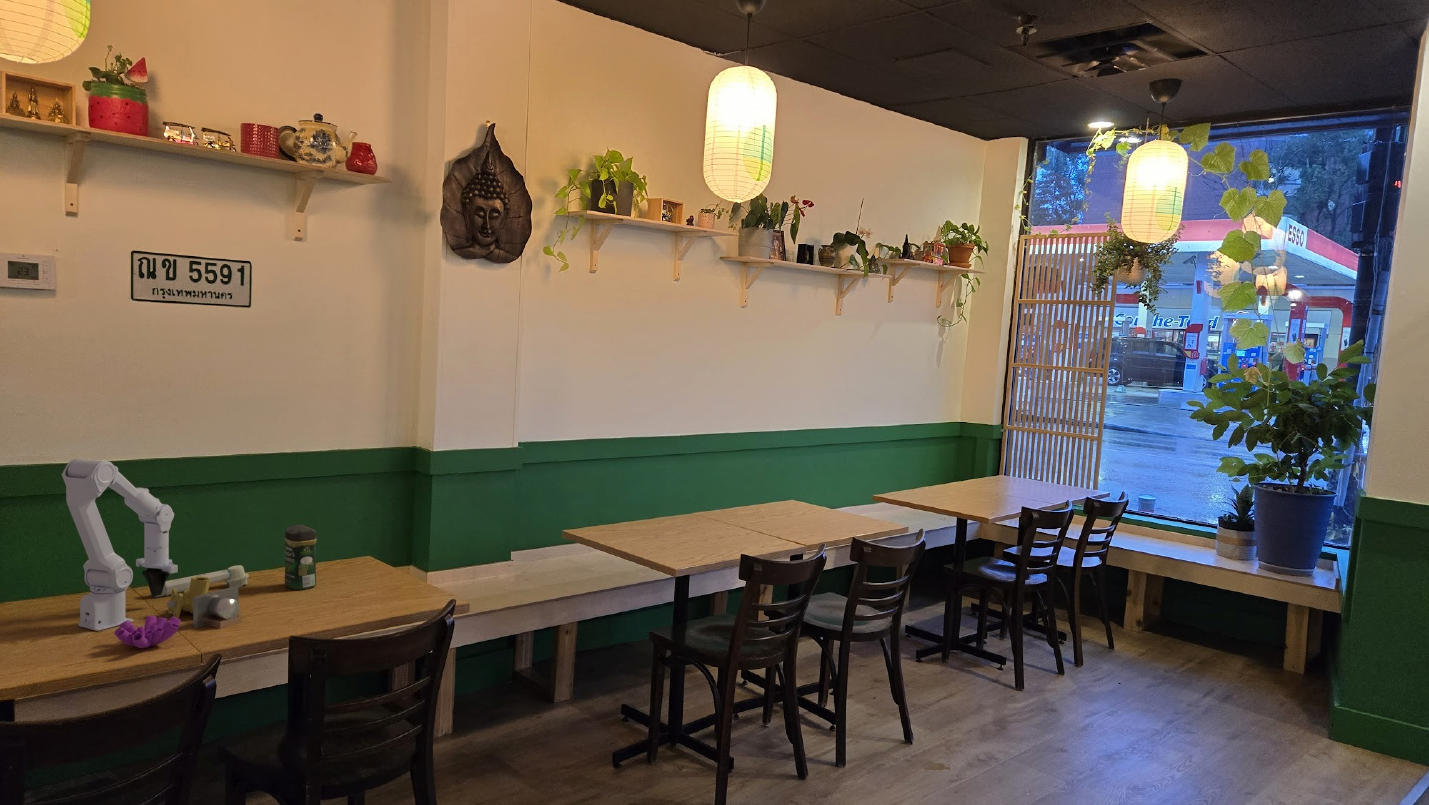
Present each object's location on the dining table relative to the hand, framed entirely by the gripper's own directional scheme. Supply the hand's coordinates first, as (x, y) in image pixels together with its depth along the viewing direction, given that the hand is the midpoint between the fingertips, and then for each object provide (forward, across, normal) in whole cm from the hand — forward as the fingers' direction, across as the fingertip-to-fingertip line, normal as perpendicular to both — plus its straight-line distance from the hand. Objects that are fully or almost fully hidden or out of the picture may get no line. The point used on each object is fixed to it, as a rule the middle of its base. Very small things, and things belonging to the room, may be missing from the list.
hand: (156, 595), depth 255 cm
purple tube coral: (+4, -26, +20) cm, 33 cm away
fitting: (+3, -26, 0) cm, 27 cm away
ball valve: (+4, -13, 0) cm, 13 cm away
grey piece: (+4, +5, -17) cm, 18 cm away
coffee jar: (+4, -15, -35) cm, 38 cm away
